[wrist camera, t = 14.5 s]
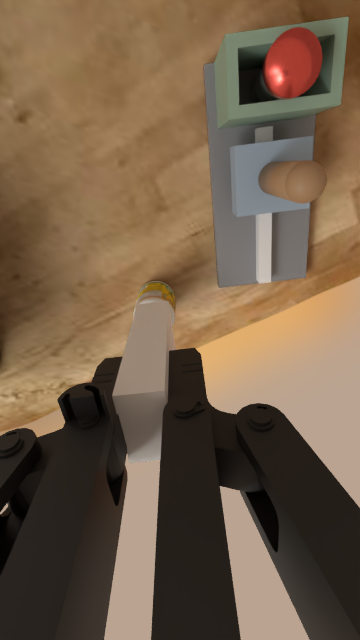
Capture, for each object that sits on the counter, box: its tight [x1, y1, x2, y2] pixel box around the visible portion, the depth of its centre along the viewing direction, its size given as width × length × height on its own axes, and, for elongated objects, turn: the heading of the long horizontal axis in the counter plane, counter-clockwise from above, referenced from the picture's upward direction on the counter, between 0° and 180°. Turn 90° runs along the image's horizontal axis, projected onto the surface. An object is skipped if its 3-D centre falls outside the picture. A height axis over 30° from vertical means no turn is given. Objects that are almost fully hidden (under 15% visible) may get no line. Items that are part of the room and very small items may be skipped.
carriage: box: [230, 136, 327, 217], centre depth 31 cm, size 8×7×15 cm
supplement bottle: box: [133, 281, 175, 326], centre depth 42 cm, size 5×5×10 cm
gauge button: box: [250, 27, 322, 103], centre depth 29 cm, size 4×4×9 cm
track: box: [203, 16, 349, 288], centre depth 35 cm, size 12×25×10 cm, turn 7°
